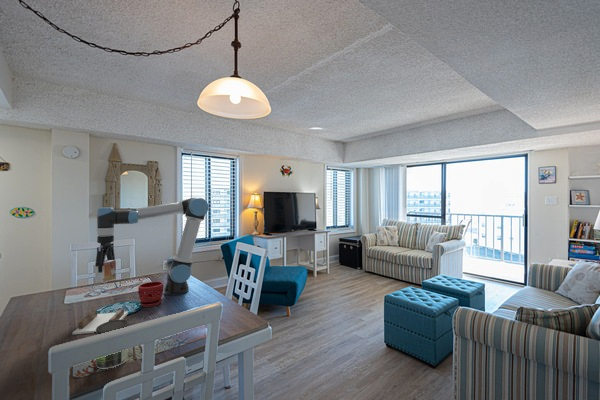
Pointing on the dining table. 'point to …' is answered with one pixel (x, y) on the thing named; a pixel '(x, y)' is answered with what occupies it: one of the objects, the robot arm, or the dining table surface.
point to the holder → (97, 321)
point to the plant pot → (150, 293)
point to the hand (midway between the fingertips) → (105, 275)
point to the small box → (107, 271)
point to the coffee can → (118, 357)
